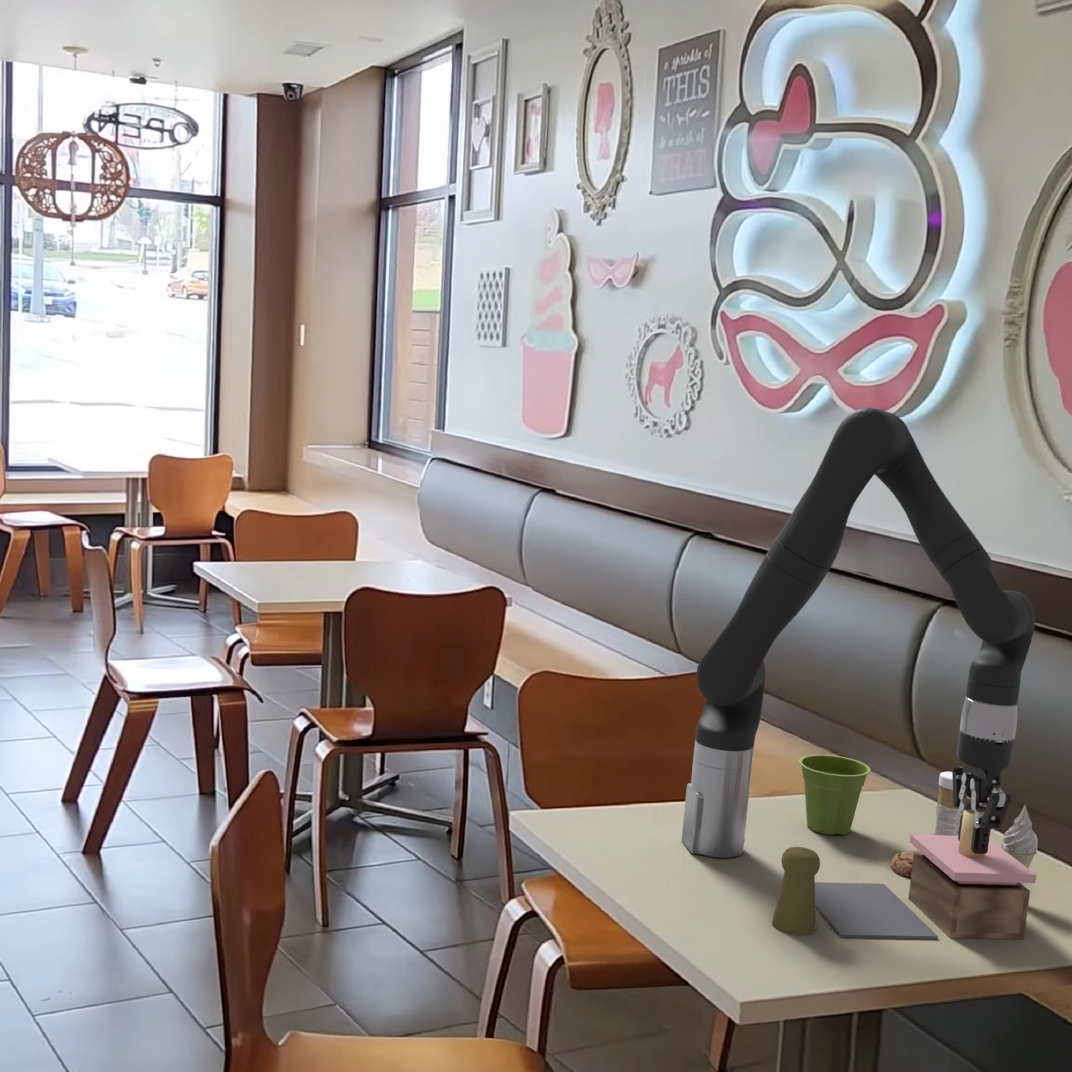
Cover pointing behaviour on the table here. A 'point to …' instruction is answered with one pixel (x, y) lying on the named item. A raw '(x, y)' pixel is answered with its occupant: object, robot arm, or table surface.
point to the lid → (971, 858)
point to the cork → (797, 892)
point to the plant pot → (832, 791)
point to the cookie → (903, 863)
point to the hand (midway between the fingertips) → (972, 847)
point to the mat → (868, 912)
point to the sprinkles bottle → (946, 808)
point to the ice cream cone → (1021, 839)
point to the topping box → (968, 904)
